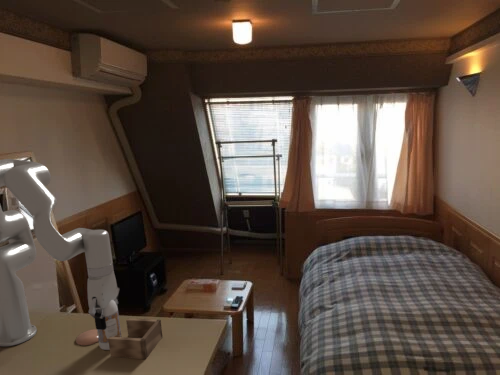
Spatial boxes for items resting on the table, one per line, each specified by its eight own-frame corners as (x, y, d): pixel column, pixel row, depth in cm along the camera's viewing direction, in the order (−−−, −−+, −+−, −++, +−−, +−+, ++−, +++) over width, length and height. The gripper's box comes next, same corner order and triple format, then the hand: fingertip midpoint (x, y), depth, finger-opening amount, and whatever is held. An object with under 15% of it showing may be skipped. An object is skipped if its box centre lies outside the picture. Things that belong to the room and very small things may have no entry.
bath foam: (102, 353, 129) (94, 293, 125) (97, 343, 135) (88, 285, 131) (124, 345, 133) (117, 286, 129) (118, 336, 138) (111, 279, 134)
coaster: (70, 344, 135) (70, 343, 135) (86, 330, 144) (86, 328, 143) (95, 346, 133) (95, 344, 133) (110, 331, 142) (109, 329, 142)
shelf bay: (110, 356, 127) (108, 338, 126) (130, 334, 139) (127, 318, 138) (145, 359, 124) (143, 340, 123) (162, 336, 136) (160, 319, 135)
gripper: (104, 259, 138) (111, 309, 141) (72, 281, 121) (81, 336, 125) (125, 259, 136) (131, 310, 140) (95, 281, 120) (103, 338, 123)
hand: (107, 322), depth 132 cm, fingers closed on bath foam, 7 cm apart
